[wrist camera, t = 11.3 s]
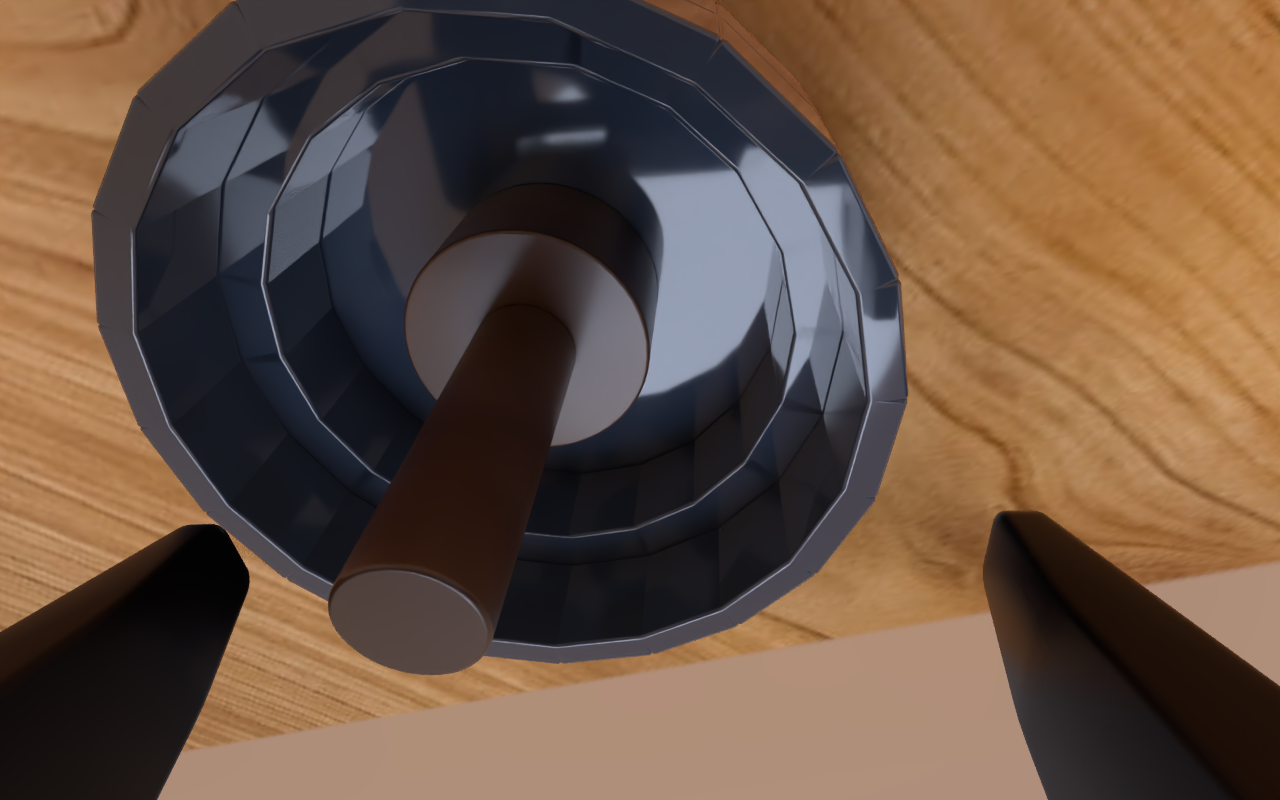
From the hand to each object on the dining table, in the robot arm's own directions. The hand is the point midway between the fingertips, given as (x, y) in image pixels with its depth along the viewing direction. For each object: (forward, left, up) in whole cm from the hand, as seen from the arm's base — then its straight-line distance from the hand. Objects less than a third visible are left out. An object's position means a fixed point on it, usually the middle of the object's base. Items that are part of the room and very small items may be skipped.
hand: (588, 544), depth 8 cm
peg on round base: (+1, +1, -7) cm, 8 cm away
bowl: (+1, +2, -8) cm, 8 cm away
